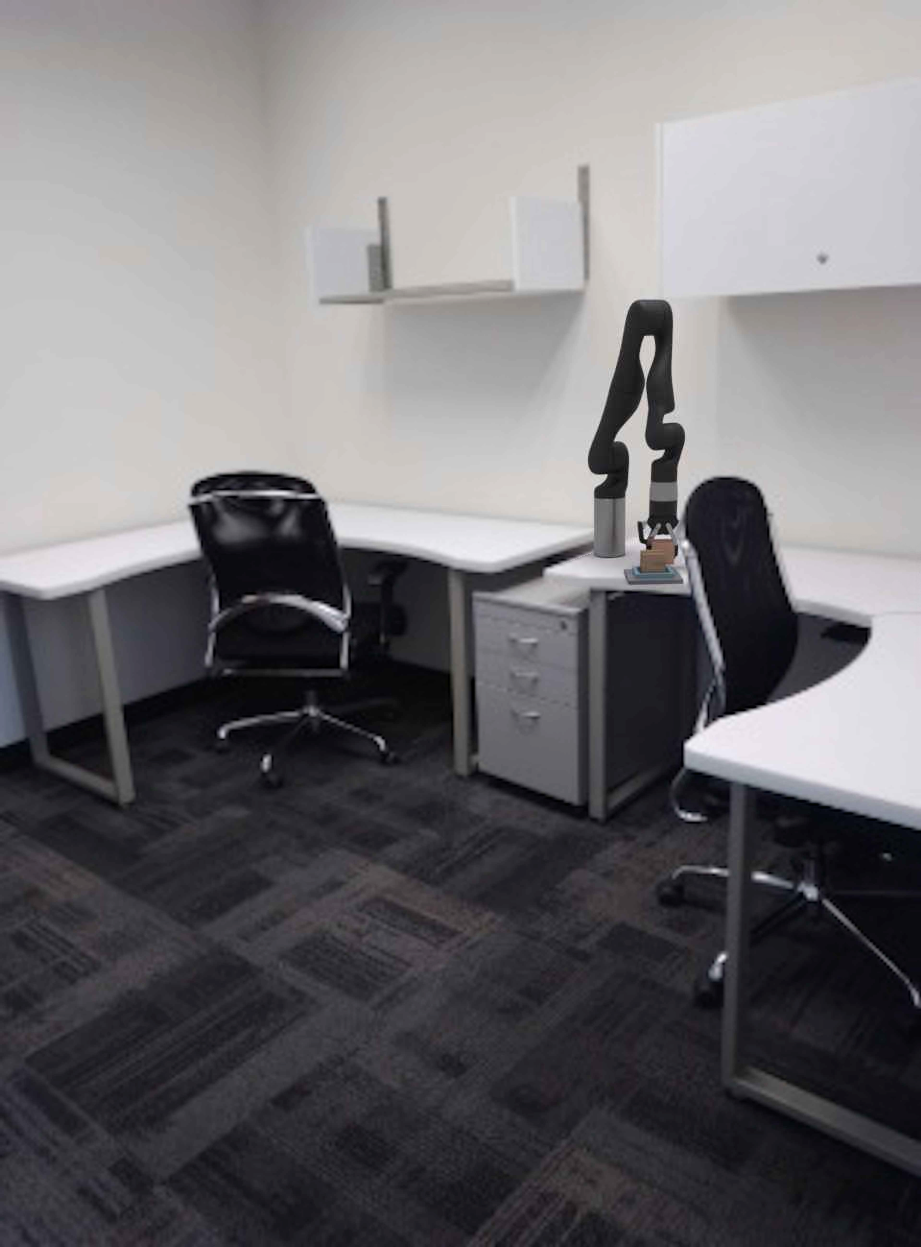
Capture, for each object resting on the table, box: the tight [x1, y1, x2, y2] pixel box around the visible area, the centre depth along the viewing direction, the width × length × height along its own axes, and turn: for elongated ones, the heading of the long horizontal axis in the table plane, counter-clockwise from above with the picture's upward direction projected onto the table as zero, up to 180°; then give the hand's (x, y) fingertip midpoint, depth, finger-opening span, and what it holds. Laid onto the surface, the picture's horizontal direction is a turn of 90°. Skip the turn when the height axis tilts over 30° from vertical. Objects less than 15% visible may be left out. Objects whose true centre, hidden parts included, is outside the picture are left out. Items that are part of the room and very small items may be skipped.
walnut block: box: [639, 549, 666, 573], centre depth 258 cm, size 6×6×6 cm
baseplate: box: [623, 565, 684, 585], centre depth 259 cm, size 14×14×2 cm
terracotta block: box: [651, 538, 675, 566], centre depth 268 cm, size 6×6×6 cm
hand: (661, 557), depth 269 cm, fingers closed on terracotta block, 6 cm apart
